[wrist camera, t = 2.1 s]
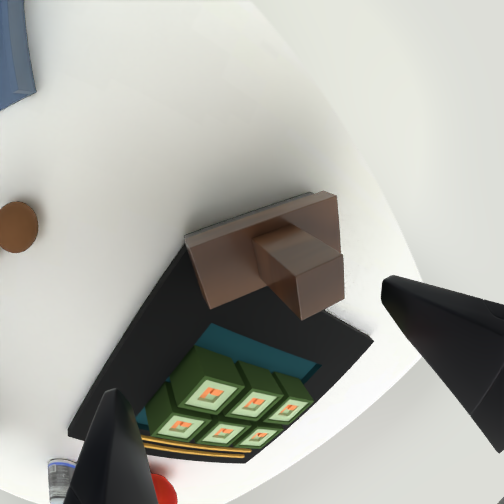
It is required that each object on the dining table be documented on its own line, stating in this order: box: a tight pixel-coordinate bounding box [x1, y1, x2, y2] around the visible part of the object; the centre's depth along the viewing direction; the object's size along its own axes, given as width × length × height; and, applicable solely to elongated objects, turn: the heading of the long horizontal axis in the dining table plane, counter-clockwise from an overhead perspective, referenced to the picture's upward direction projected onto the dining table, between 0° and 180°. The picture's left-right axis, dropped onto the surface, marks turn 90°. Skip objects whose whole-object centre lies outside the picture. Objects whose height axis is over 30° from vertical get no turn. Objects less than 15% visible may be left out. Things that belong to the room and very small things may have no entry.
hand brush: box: [184, 191, 345, 320], centre depth 19 cm, size 4×10×8 cm, turn 101°
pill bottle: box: [48, 459, 76, 504], centre depth 23 cm, size 5×5×8 cm
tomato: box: [151, 473, 178, 504], centre depth 28 cm, size 11×11×8 cm
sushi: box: [68, 232, 374, 463], centre depth 27 cm, size 25×25×4 cm
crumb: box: [0, 202, 38, 253], centre depth 14 cm, size 3×3×3 cm
